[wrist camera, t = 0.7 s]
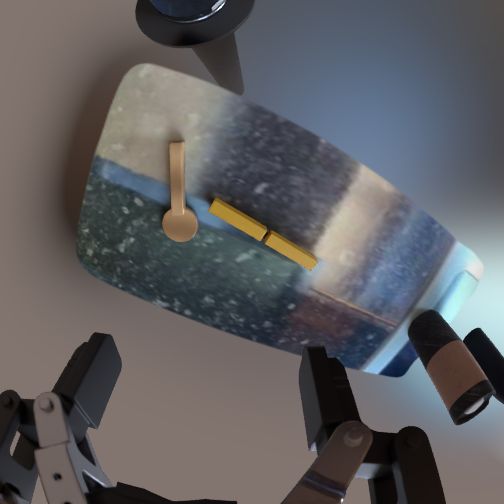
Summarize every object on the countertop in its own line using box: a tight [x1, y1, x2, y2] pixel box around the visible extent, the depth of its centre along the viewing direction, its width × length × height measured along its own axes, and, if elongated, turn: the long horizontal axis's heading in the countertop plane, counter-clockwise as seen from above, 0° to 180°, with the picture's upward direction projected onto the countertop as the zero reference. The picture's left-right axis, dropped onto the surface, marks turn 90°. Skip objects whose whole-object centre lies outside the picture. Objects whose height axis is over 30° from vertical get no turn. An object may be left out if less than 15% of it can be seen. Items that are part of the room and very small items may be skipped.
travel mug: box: [408, 310, 496, 425], centre depth 32 cm, size 8×8×20 cm
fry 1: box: [208, 198, 267, 241], centre depth 32 cm, size 7×2×2 cm, turn 58°
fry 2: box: [264, 230, 318, 271], centre depth 34 cm, size 7×2×2 cm, turn 58°
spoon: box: [162, 142, 199, 242], centre depth 31 cm, size 12×4×2 cm, turn 178°
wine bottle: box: [463, 328, 504, 404], centre depth 30 cm, size 6×6×30 cm
